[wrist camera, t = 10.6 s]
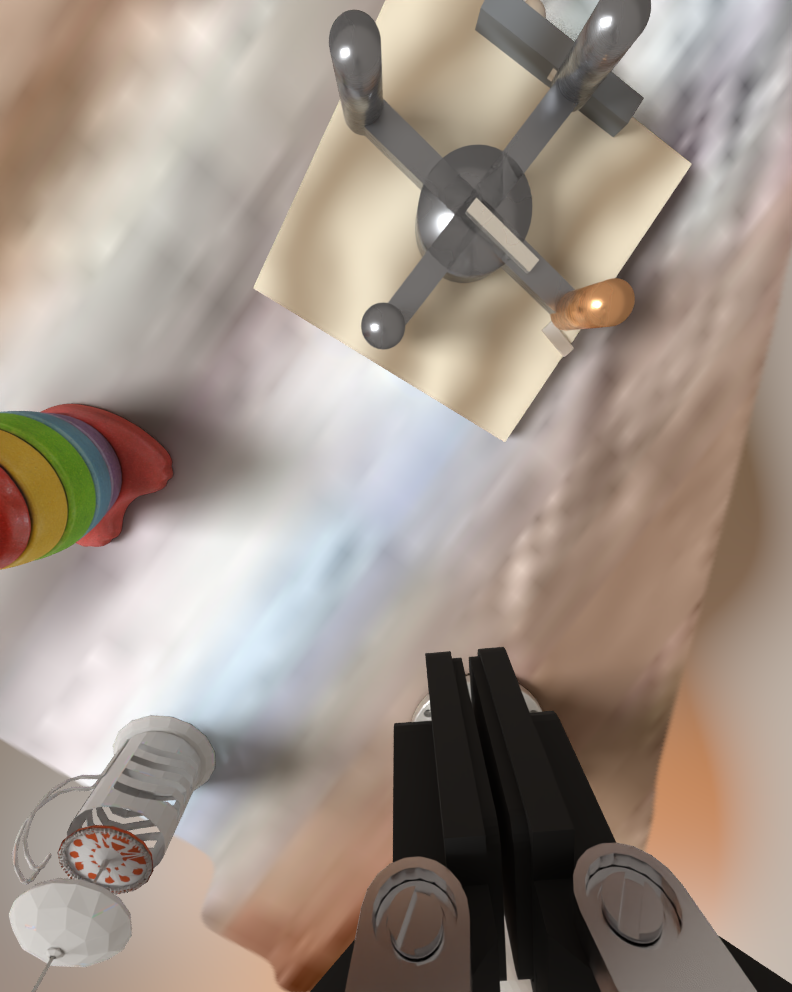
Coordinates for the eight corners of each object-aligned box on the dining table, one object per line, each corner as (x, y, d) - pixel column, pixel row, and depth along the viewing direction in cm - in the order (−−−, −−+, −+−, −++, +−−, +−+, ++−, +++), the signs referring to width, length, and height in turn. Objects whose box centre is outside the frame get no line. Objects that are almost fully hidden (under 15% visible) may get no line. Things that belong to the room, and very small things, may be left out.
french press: (182, 809, 47) (-35, 1288, 23) (77, 753, 45) (-285, 1221, 21) (235, 749, 45) (55, 1212, 21) (127, 687, 42) (-215, 1127, 18)
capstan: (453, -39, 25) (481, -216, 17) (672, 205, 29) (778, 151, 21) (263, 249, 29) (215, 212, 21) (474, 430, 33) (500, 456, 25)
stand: (684, 165, 30) (724, 140, 26) (501, 438, 35) (514, 449, 32) (418, -45, 27) (422, -106, 23) (261, 291, 32) (244, 284, 29)
